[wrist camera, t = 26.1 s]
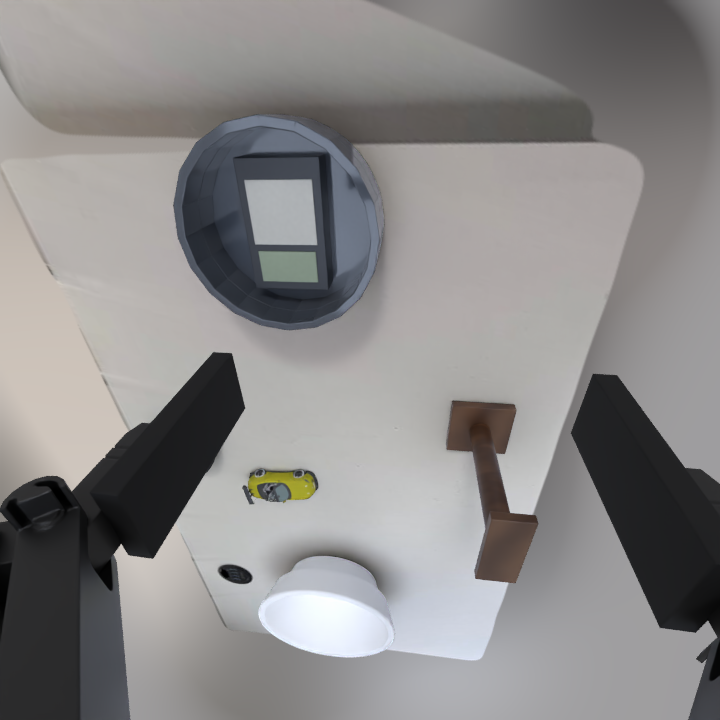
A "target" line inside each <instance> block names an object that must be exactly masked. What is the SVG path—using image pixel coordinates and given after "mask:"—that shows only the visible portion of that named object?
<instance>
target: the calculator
mask: <svg viewBox="0 0 720 720" xmlns="http://www.w3.org/2000/svg"><path fill="white" fill-rule="evenodd" d="M233 162H234V168H235V173H236V179H237V184H238V190H239V195H240V201H241V206H242V212H243V217H244V223H245V228H246V234H247V239H248V244H249V250H250V255H251V261H252V266H253V272H254V277H255V283H256V288H268V289H308V290H329V288H330V286H331V284H332V282H333V270H332V254H331V239H330V224H329V208H328V193H327V178H326V163H325V154H271V155H242V156H238V157H234V158H233Z"/></svg>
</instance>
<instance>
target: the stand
mask: <svg viewBox="0 0 720 720" xmlns="http://www.w3.org/2000/svg"><path fill="white" fill-rule="evenodd" d="M515 414H516V407H515V405H511V404H494V403H477V402H460V401H452V406H451V413H450V420H449V428H448V435H447V442H446V447H447V450H458V451H471V452H473V457H474V463H475V469H476V475H477V481H478V487H479V493H480V499H481V505H482V511H483V517H484V523H485V533H484V536H483V540H482V544H481V548H480V552H479V555H478V559H477V563H476V567H475V571H474V572H475V578H476V579H481V580H491V581H500V582H509V583H516V581H517V578H518V576H519V573H520V570H521V568H522V565H523V563H524V560H525V557H526V555H527V552H528V549H529V547H530V544H531V542H532V539H533V536H534V534H535V531H536V529H537V526H538V521H537V518H536V516H535V515H526V514H515V513H510V511H509V507H508V503H507V498H506V494H505V490H504V486H503V481H502V477H501V473H500V468H499V464H498V460H497V456H496V453H498V454H505V452H506V448H507V444H508V440H509V437H510V433H511V429H512V425H513V421H514V418H515Z"/></svg>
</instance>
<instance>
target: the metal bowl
mask: <svg viewBox="0 0 720 720" xmlns="http://www.w3.org/2000/svg"><path fill="white" fill-rule="evenodd" d="M271 154H325V163H326V178H327V193H328V208H329V224H330V239H331V254H332V270H333V282H332V284H331V286H330V288H329V290H308V289H268V288H256V283H255V277H254V272H253V266H252V261H251V255H250V250H249V244H248V239H247V234H246V228H245V223H244V217H243V212H242V206H241V201H240V195H239V190H238V184H237V179H236V173H235V168H234V162H233V158H234V157H238V156H242V155H271ZM173 206H174V213H175V221H176V228H177V236H178V239H179V242H180V244H181V246H182V249H183V251H184V254H185V256H186V258H187V261H188V263H189V265H190V267H191V269H192V270H193V272H194V273H195V274H196V276H197V277H198V278H199V280H200V281H201V282H202V284H203V285H204V286H205V288H206V289H207V290H208V291H209V293H211V295H213V296H214V297H215V298H216V299H218V300H219V301H220V302H221V303H222V304H224V305H225V306H226V307H227V308H229V309H230V310H231V311H232V312H235V314H237V315H240V316H242V317H244V318H246V319H248V320H250V321H252V322H255V323H257V324H259V325H261V326H267V327H272V328H278V329H283V330H297V329H307V328H315V327H318V326H320V325H323V324H325V323H327V322H329V321H332V320H334V319H336V318H339V317H340V316H342V315H343V314H344V313H345V312H346V311H347V310H348V309H349V308H350V307H351V306H353V305H354V304H355V303H356V302H357V301H358V300H359V299H360V298H361V297H362V295H363V293H364V291H365V289H366V287H367V285H368V283H369V282H370V280H371V278H372V276H373V274H374V272H375V268H376V265H377V261H378V257H379V253H380V248H381V242H382V237H383V230H384V212H383V204H382V199H381V193H380V190H379V187H378V185H377V182H376V180H375V177H374V175H373V173H372V171H371V169H370V168H369V166H368V164H367V162H366V161H365V160H364V158H363V157H362V155H361V154H360V153H359V152H358V150H357V149H356V148H355V147H354V146H353V145H352V144H351V143H350V142H349V141H348V140H347V139H345V138H344V137H343V136H342V135H341V134H339V133H338V132H336V131H335V130H333V129H331V128H330V127H328V126H326V125H324V124H322V123H319V122H318V121H316V120H314V119H310V118H304V117H299V116H291V115H285V114H256V115H252V116H248V117H243V118H239V119H235V120H230V121H226V122H223V123H221V124H220V125H219V126H217V127H216V128H215V129H213V130H212V131H211V132H209V133H208V134H207V135H205V136H204V137H203V138H201V139H200V140H199V141H197V142H196V144H195V145H194V147H193V148H192V150H191V152H190V154H189V155H188V157H187V159H186V160H185V162H184V164H183V165H182V167H181V169H180V172H179V176H178V181H177V187H176V193H175V198H174V205H173Z"/></svg>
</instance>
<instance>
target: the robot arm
mask: <svg viewBox="0 0 720 720" xmlns="http://www.w3.org/2000/svg"><path fill="white" fill-rule="evenodd" d="M244 409H245V405H244V401H243V397H242V393H241V389H240V385H239V381H238V377H237V372H236V368H235V364H234V360H233V356H232V353H216V352H213V353H212V354H211V356H210V357H209V358H208V359H207V360H206V361H205V362H204V364H203V365H202V366H201V367H200V368H199V369H198V370H197V371H196V373H195V374H194V375H193V376H192V377H191V378H190V379H189V380H188V382H187V383H186V384H185V385H184V386H183V387H182V388H181V389H180V391H179V392H178V393H177V394H176V395H175V396H174V397H173V398H172V400H171V401H170V402H169V403H168V404H167V405H166V406H165V407H164V409H163V410H162V411H161V412H160V413H159V414H158V415H157V417H156V418H155V419H154V420H153V421H152V422H151V423H141V424H140V425H138V426H137V427H135V428H134V429H132V430H130V431H129V432H127V433H126V434H125V435H124V436H123V437H122V439H121V440H120V441H119V442H118V443H117V444H116V445H115V448H112V449H111V450H110V451H109V452H108V454H106V457H105V458H103V459H102V460H101V461H100V462H99V463H98V464H97V465H96V467H94V468H93V469H92V471H91V472H90V473H89V474H88V475H87V476H86V477H85V478H84V479H83V480H82V481H81V482H80V483H79V485H78V486H77V487H76V488H75V489H74V490H73V491H71V490H70V488H69V487H68V486H67V484H66V483H65V481H64V479H62V478H60V477H58V476H46V477H42V478H38V479H35V480H32V481H30V482H28V483H26V484H24V485H22V486H21V487H19V488H18V489H16V490H15V491H14V492H12V493H11V494H10V495H9V496H8V497H7V498H6V499H5V500H4V501H3V503H2V505H1V508H0V512H1V513H2V514H3V516H4V517H5V518H6V519H7V520H8V521H6V522H0V720H130V711H129V699H128V688H127V676H126V664H125V653H124V641H123V630H122V618H121V607H120V595H119V583H118V572H117V562H116V559H115V557H114V555H113V554H114V553H115V551H116V550H117V549H118V547H119V546H120V544H122V545H123V547H124V549H125V550H126V552H127V553H128V555H130V556H137V557H145V558H152V559H153V558H154V557H155V555H156V553H157V552H158V550H159V548H160V546H161V545H162V544H163V542H164V540H165V539H166V537H167V535H168V534H169V532H170V530H171V529H172V527H173V526H174V524H175V522H176V521H177V519H178V517H179V516H180V514H181V512H182V511H183V509H184V507H185V506H186V504H187V503H188V501H189V499H190V498H191V496H192V494H193V493H194V491H195V489H196V488H197V486H198V485H199V483H200V481H201V480H202V478H203V476H204V475H205V473H206V471H207V470H208V468H209V467H210V465H211V463H212V462H213V460H214V458H215V457H216V455H217V453H218V452H219V450H220V449H221V447H222V445H223V444H224V442H225V440H226V439H227V437H228V435H229V434H230V432H231V431H232V429H233V427H234V426H235V424H236V422H237V421H238V419H239V417H240V416H241V414H242V413H243V411H244ZM571 434H572V437H573V439H574V441H575V443H576V445H577V448H578V450H579V452H580V454H581V456H582V458H583V460H584V463H585V465H586V467H587V469H588V472H589V473H590V476H591V478H592V480H593V483H594V485H595V487H596V489H597V491H598V493H599V496H600V498H601V500H602V502H603V504H604V506H605V509H606V511H607V513H608V515H609V517H610V520H611V522H612V524H613V526H614V528H615V530H616V533H617V535H618V537H619V539H620V542H621V544H622V546H623V548H624V550H625V552H626V555H627V557H628V559H629V561H630V563H631V566H632V568H633V570H634V572H635V574H636V577H637V578H638V581H639V583H640V585H641V587H642V589H643V592H644V594H645V596H646V598H647V600H648V603H649V605H650V607H651V609H652V611H653V614H654V616H655V618H656V620H657V622H658V625H659V627H660V628H665V629H673V630H680V631H687V632H695V633H696V632H697V631H698V630H699V628H700V627H702V625H703V624H705V622H707V621H709V623H710V624H711V626H712V628H713V630H714V632H715V633H716V635H717V639H715V640H714V641H713V642H712V643H711V644H710V645H709V646H708V647H707V648H706V649H705V650H703V651H702V652H701V653H700V655H699V656H698V657H697V658H696V659H697V660H698V661H700V662H701V663H703V662H704V661H705V660H706V659H707V661H706V664H705V667H704V670H703V674H702V677H701V680H700V683H699V687H698V690H697V693H696V696H695V700H694V703H693V706H692V709H691V713H690V716H689V719H688V720H720V484H719V483H718V482H717V481H715V480H714V479H713V478H711V477H710V476H709V475H708V474H706V473H705V472H704V471H702V470H701V469H690V468H685V467H684V466H683V464H682V463H681V462H680V460H679V459H678V458H677V456H676V455H675V454H674V452H673V451H672V449H671V448H670V447H669V445H668V444H667V443H666V441H665V440H664V439H663V437H662V436H661V434H660V433H659V432H658V430H657V429H656V428H655V426H654V425H653V424H652V422H651V421H650V420H649V418H648V417H647V415H646V414H645V413H644V411H643V410H642V409H641V407H640V406H639V405H638V403H637V402H636V400H635V399H634V398H633V396H632V395H631V394H630V392H629V391H628V390H627V388H626V387H625V386H624V384H623V383H622V381H621V380H620V379H619V377H618V376H617V375H603V374H593V375H592V378H591V380H590V383H589V386H588V389H587V391H586V394H585V397H584V399H583V402H582V405H581V407H580V410H579V413H578V416H577V418H576V421H575V423H574V426H573V429H572V432H571Z"/></svg>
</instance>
